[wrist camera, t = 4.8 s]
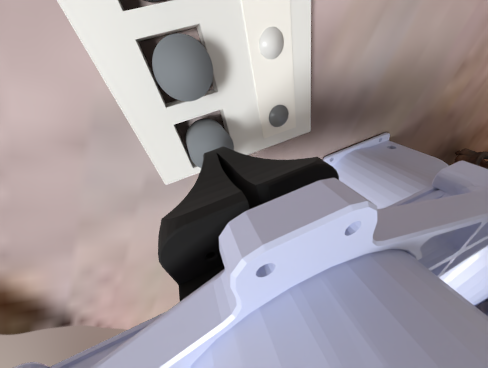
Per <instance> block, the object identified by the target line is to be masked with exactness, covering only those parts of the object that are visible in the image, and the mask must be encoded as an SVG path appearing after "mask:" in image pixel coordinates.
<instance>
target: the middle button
mask: <svg viewBox="0 0 488 368" xmlns="http://www.w3.org/2000/svg"><path fill="white" fill-rule="evenodd" d="M152 66H153V72H154V75H155V78H156V80H157V82H158V84H159V85H160V87H161V88H162V89H163V90H164V91H165V92H166V93H167V94H168V95H169V96H171V97H173V98H175V99H177V100H180V101H187V102H189V101H195V100H197V99H199V98H201V97H203V96H204V95H205V94H206V93H207V91H208V90H209V88H210V86H211V84H212V80H213V65H212V61H211V58H210V56H209V54H208V52H207V50H206V49H205V48H204V46H203V45H202V44H201V43H200V42H199V41H197V40H196V39H195V38H193V37H191V36H189V35H186V34H181V33H175V34H171V35H168V36H166V37H164V38H163V39H162V40H161V41H160V42H159V43H158V44H157V46H156V48H155V50H154V53H153V58H152Z"/></svg>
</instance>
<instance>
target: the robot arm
mask: <svg viewBox="0 0 488 368" xmlns="http://www.w3.org/2000/svg"><path fill="white" fill-rule="evenodd" d="M389 138H390V134H389V133H384V134H381V135H379V136H376V137H373V138H371V139H368V140H366V141H363V142H361V143H358V144H356V145H353V146H351V147H348V148H346V149H343V150H341V151H338V152H336V153H333V154H331V155H328V156H326V157H325V158H324V159H323V160H322V159H320V158H318V157H313V158H305V159H296V160H271V159H262V158H256V157H252V156H248V155H245V154H242V153H239V152H236V151H234V150H231V149H229V148H227V147H224V146H223V147H220V148H217V149H215V150H212V151H209V152H206V153H204V155H203V163H202V167H201V171H200V174H199V176H198V179H197V181H196V183H195V185H194V187H193V188H192V189H191V191H190V192H189V193H188V195H187V196H186V197H185V198H184V200H183V201H182V202H181V203H180V204H179V205H178V206H177V207H176V208H174V209H173V210H172V211H171V212H170V213H168V214H167V215H166V216H165V217H164V218H162V220H161V226H160V231H159V240H158V257H159V262H160V264H161V265H162V267H163V268H164V269H165V270H166V271H167V273H168V274H169V275H170V276H171V277H172V278H173V279H174V280H175V281H176V282H177V284H178V285H179V296H180V302H179V303H178V304H176V305H175V306H173V307H172V308H171V309H169V310H168V311H166V312H164V313H162V314H160V315H158V316H156V317H154V318H152V319H150V320H148V321H145V322H143V323H141V324H139V325H137V326H135V327H133V328H131V329H129V330H126V331H124V332H122V333H121V334H118V335H116V336H114V337H112V338H110V339H108V340H105V341H103V342H101V343H99V344H97V345H95V346H93V347H91V348H89V349H87V350H84V351H82V352H80V353H78V354H76V355H74V356H72V357H70V358H68V359H65V360H63V361H61V362H59V363H57V364H55V365H53V366H51V367H48V366H47V365H45V364H42V363H37V362H30V363H24V364H21V365H18V366H16V367H13V368H488V169H486V168H483V167H480V166H477V165H474V164H471V163H468V162H466V161H463V160H462V161H458V162H456V163H454V164H452V165H450V166H449V165H448V164H446V163H445V162H444V161H442V160H440V159H438V158H436V157H433V156H430V155H427V154H425V153H422V152H419V151H416V150H414V149H411V148H408V147H405V146H403V145H400V144H397V143H394V142H392V141H389Z"/></svg>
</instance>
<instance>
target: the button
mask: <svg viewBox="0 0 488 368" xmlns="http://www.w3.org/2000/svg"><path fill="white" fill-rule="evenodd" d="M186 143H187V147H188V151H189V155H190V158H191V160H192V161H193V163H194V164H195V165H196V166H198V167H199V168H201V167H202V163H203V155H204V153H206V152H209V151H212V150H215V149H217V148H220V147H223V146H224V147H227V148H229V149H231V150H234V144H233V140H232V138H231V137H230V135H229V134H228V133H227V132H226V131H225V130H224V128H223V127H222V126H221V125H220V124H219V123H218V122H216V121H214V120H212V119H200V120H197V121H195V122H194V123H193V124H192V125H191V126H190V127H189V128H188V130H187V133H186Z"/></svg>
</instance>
